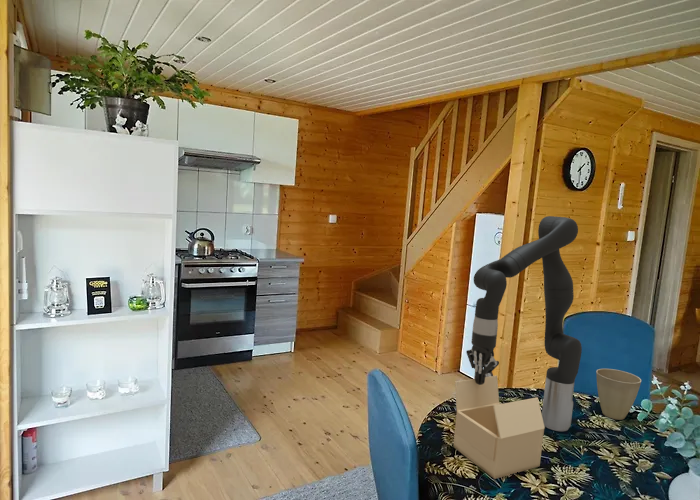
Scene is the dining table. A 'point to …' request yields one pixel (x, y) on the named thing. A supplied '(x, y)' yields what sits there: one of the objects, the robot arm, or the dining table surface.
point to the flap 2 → (518, 417)
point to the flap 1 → (476, 393)
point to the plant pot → (616, 392)
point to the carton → (495, 443)
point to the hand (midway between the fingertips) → (479, 383)
